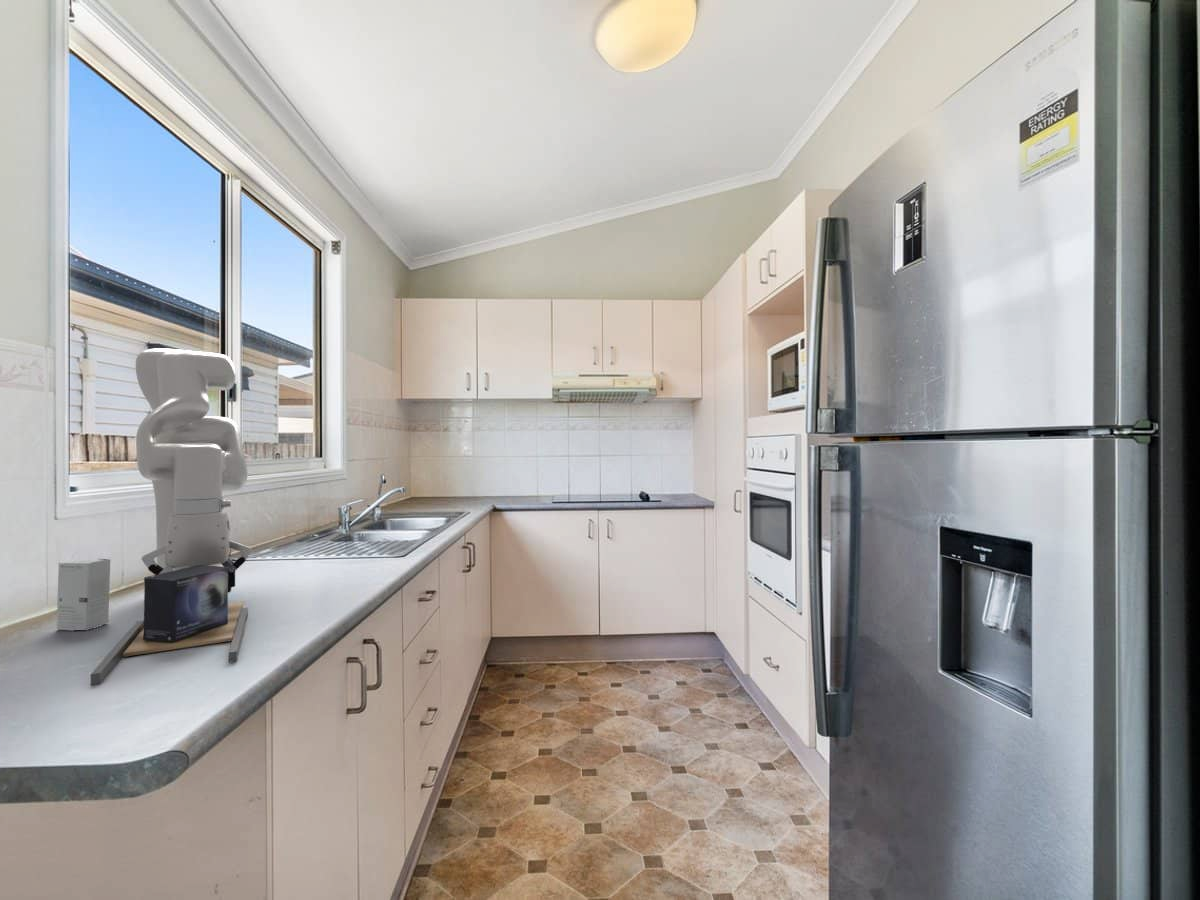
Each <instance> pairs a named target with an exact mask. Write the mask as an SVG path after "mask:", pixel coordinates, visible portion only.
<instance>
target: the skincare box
mask: <svg viewBox="0 0 1200 900" xmlns="http://www.w3.org/2000/svg"><path fill="white" fill-rule="evenodd" d="M57 571H58V574H57V575H58V577H57V601H56V602H57V604H56V605H57V606H56V609H57V610H56V629H59V630H58V631H74V630H86V631H89V630H88V629H91V628H94V627H97V626H100V625H103V624H105V625H107V624H109V614H110V613H109V609H110V607H109V606H110V583H111V582H110V581H111V578H110V577H111V559H110V558H97V557H96V558H94V557H92V558H91V557H89V558H88V557H80V558H74V559H69V560H65V561H61V562H59V563H58V570H57ZM106 623H107V624H106ZM103 626H104V625H103ZM100 627H101V626H100ZM97 628H98V627H97ZM94 629H95V628H94ZM91 630H92V629H91Z"/></svg>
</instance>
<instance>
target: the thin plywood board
mask: <svg viewBox="0 0 1200 900" xmlns="http://www.w3.org/2000/svg"><path fill="white" fill-rule="evenodd" d="M243 606H244V601H240V602H232V603H231V602H230V603H228V624H225V625H222V626H219V627H216V628H213V629H210V630H208V631H205V632H202V633H199V634H196V635H193V636H191V637H188V638H185V639H182V640H179V641H177V642H174V643H168V642H158V641H148V640H143V635H144V628H143V629H142V631H141V632H140V633H139V634H138V636H137V637H136V638H135V639H134V641H133V642H132V643H131V644H130V646H129V647H128V648H127V649H126V651H125V652H124V653H123V656H122V657H124V658H125V657H130V656H137V655H142V654H143V655H144V654H151V653H157V652H164V651H170V650H171V651H172V650H177V649H185V648H190V647H196V646H203V645H210V644H217V643H223V642H224V643H225V642H230V641H231V642H232V640H233V636H234V633H235V629H236V626H237V623H238V619H239V616H240V612H241V609H242V608H243Z"/></svg>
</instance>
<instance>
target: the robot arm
mask: <svg viewBox="0 0 1200 900" xmlns="http://www.w3.org/2000/svg"><path fill="white" fill-rule="evenodd" d="M135 374H136V378H137V379H136V380H137V382H138V385H139V388H140V391H141V392H142V393H141V394H142V395H143V396H144V398H145V400H146V401H147V402H148V404H149V406H150V408H151V412H149V413H148V414H147V415H145V417H144V418H143V420H142V421H141V422H140V424H139V426H138V428H137V431H136V436H135V449H136V461H137V468H138V471H139V473H140V475H141V476H142V477H143V478H144V479H147V480H149V481H151V483H152V487H153V492H154V493H153V494H154V502H155V519H156V520H155V521H156V522H155V523H156V524H155V525H156V549H154V550H152V551H151V552H149V553H146V554H144V555H143V556H142V557H141V561H142V562H143V563H144V565H145V566H146V567H147V569H148V571H149V572H150V573H152V574H153V575H157V574H162V573H167V572H171V571H175V570H180V569H184V568H189V567H193V566H197V565H210V566H216V565H222V567H228V594H229V593H231V592H232V588H235V587H236V571H237V570H238V569H239V568H240V567H241V566H242V565H243V564H244V563H245V562H246V560H247V558H248V557H249V555H250V554H251V552H252V547H250V546H249V545H245V544H242V543H240V542H237V541H235V540H232V539H231V529H230V522H229V516H228V512H225V511H223V510H224V509H226V508H231V506H232V505H231V504H232V501H231V500H230V499H228V500H227V499H224V498H223V493H225V492H228V493H229V492H235V491H238V490H240V489H241V490H242V488H243V487H245V485H246V483H247V481H248V468H247V461H246V457H245V451H244V448H243V442H242V438H241V437H242V436H241V434H240V429H239V426H238V424H237V423H236V422H235V421H234V420H233V419H231V418H229V417H226V416H214V415H213V416H212V415H211V416H210V415H207V414H208V413H209V411H210V402H209V401H210V400H209V396H208V390H212V391H213V390H215V391H229V390H231V389H232V388H233V387H234V385H235V382H236V377H237V376H236V369H235V365H234V363H233V361H232V360H231V358H230V357H229V356H227V355H226V354H222V353H217V352H216V353H215V352H208V351H207V352H206V351H195V350H185V349H175V348H165V347H164V348H160V347H158V348H149V349H146V350H143V351H141V352H139V353H138V355H137V356H136V360H135ZM206 415H207V416H206ZM154 438H155V439H154ZM232 550H235V551H237V552H240V553H241V554H240V556H239V557H238V558H237V559H236V560H235V561H233V560H232V559H231V558H230V557H231V555H232ZM155 559H156V560H155Z"/></svg>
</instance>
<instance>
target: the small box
mask: <svg viewBox="0 0 1200 900" xmlns="http://www.w3.org/2000/svg"><path fill="white" fill-rule="evenodd" d="M143 581H144V591H143V593H144V594H143V595H144V597H143V598H144V599H143V600H144V601H143V606H144V608H143V610H144V611H143V621H144V635H143V640H148V641H158V642H168V643H174V642H177V641H179V640H182V639H185V638H188V637H191V636H193V635H196V634H199V633H202V632H205V631H208V630H210V629H213V628H216V627H219V626H222V625H225V624H228V604H229V602H228V601H229V593H228V567H224V566H219V565H197V566H193V567H189V568H184V569H180V570H175V571H171V572H167V573H162V574H157V575H155V574H153V575H149V576H146V577H144V578H143Z"/></svg>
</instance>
